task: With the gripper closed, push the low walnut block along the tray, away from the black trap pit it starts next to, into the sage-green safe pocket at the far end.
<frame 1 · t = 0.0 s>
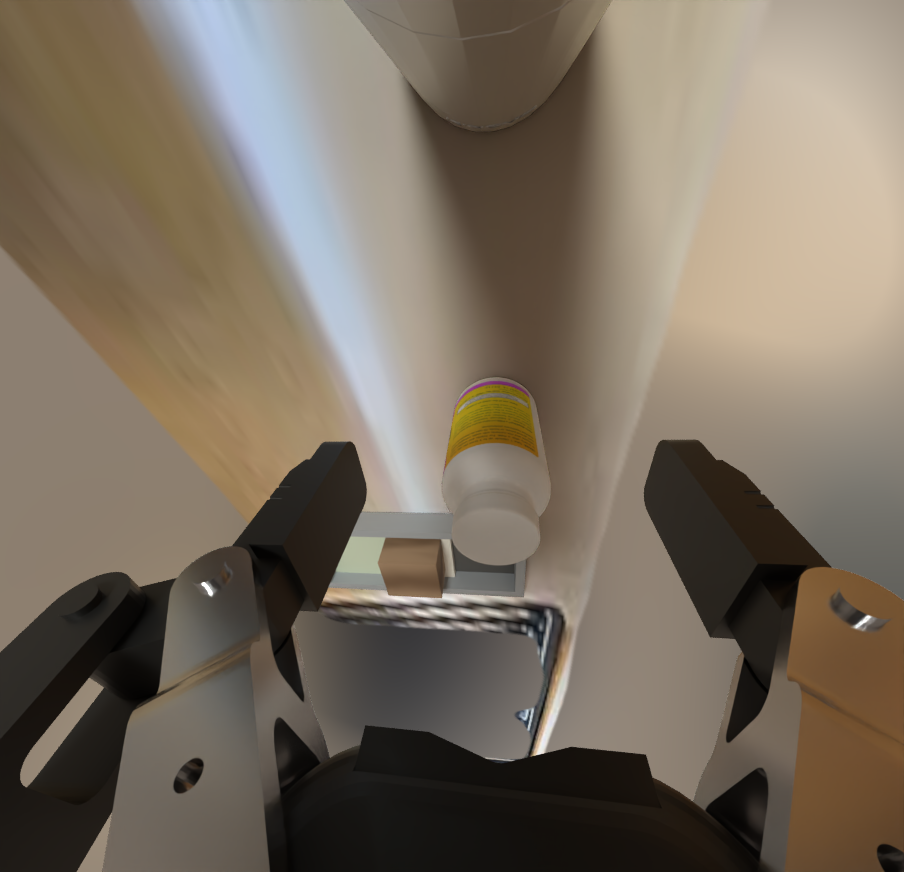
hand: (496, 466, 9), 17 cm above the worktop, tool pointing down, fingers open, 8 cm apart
supplement bottle: (495, 409, 29), on the worktop
block: (417, 552, 39), point 1 cm above the worktop, touching tray
tray: (418, 545, 40), on the worktop
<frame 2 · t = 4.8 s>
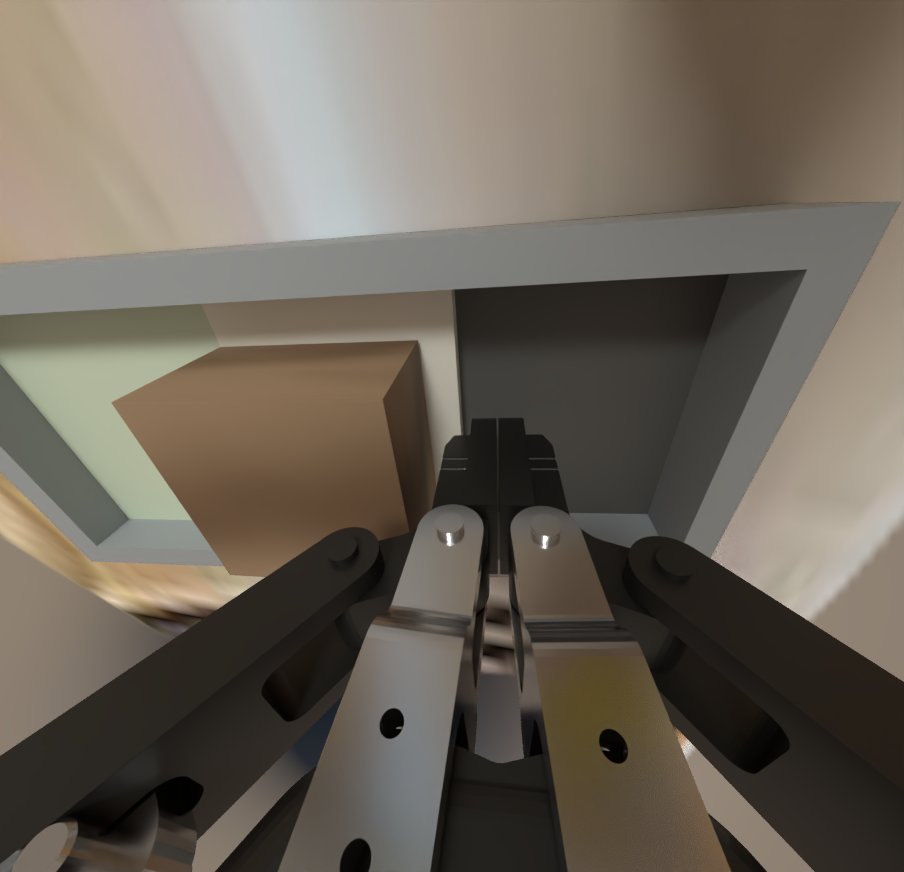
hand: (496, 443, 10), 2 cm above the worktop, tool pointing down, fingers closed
block: (341, 431, 11), point 1 cm above the worktop, touching gripper, tray
tray: (351, 415, 12), on the worktop
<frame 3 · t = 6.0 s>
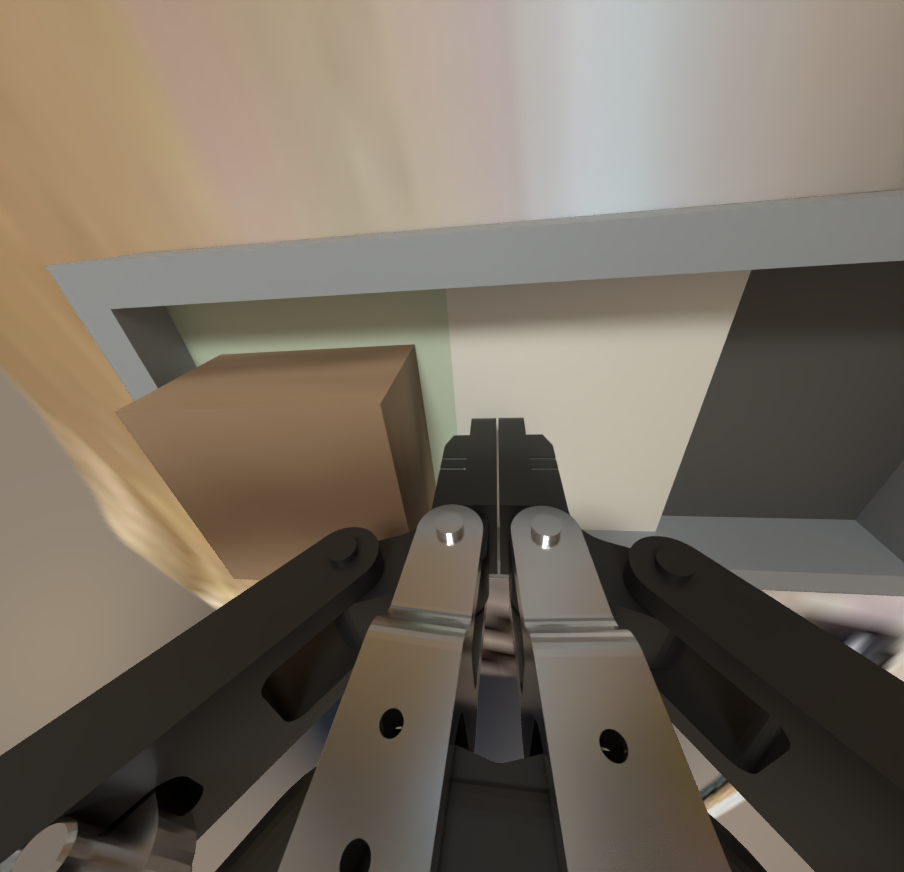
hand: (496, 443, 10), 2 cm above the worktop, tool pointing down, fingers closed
block: (340, 435, 12), point 1 cm above the worktop, touching gripper
tray: (549, 412, 11), on the worktop
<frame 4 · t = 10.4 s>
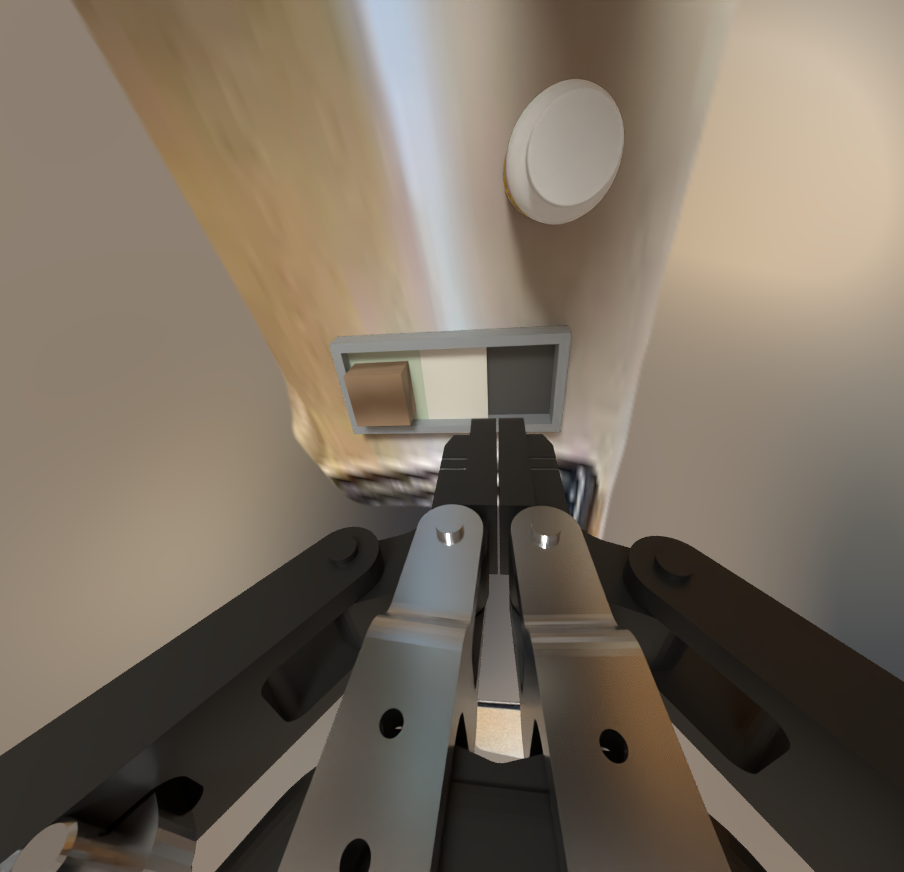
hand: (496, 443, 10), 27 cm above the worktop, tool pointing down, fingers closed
supplement bottle: (543, 171, 28), on the worktop
block: (386, 387, 39), point 1 cm above the worktop, touching tray
tray: (451, 380, 39), on the worktop
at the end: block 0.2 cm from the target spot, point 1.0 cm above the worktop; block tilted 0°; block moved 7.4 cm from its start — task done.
